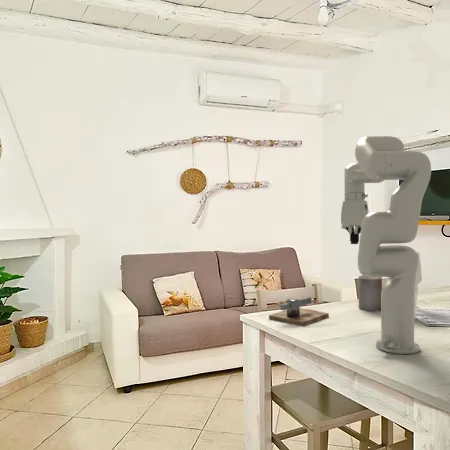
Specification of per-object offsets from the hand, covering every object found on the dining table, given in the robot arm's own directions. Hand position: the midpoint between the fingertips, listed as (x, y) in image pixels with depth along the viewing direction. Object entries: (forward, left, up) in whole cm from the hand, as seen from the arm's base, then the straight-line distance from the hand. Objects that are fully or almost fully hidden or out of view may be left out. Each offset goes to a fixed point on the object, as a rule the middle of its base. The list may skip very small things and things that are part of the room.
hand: (354, 243), depth 175 cm
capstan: (-18, +16, -27) cm, 36 cm away
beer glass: (+12, -16, -29) cm, 36 cm away
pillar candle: (+17, +2, -29) cm, 34 cm away
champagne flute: (+29, -12, -29) cm, 43 cm away
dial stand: (-15, +16, -29) cm, 37 cm away
